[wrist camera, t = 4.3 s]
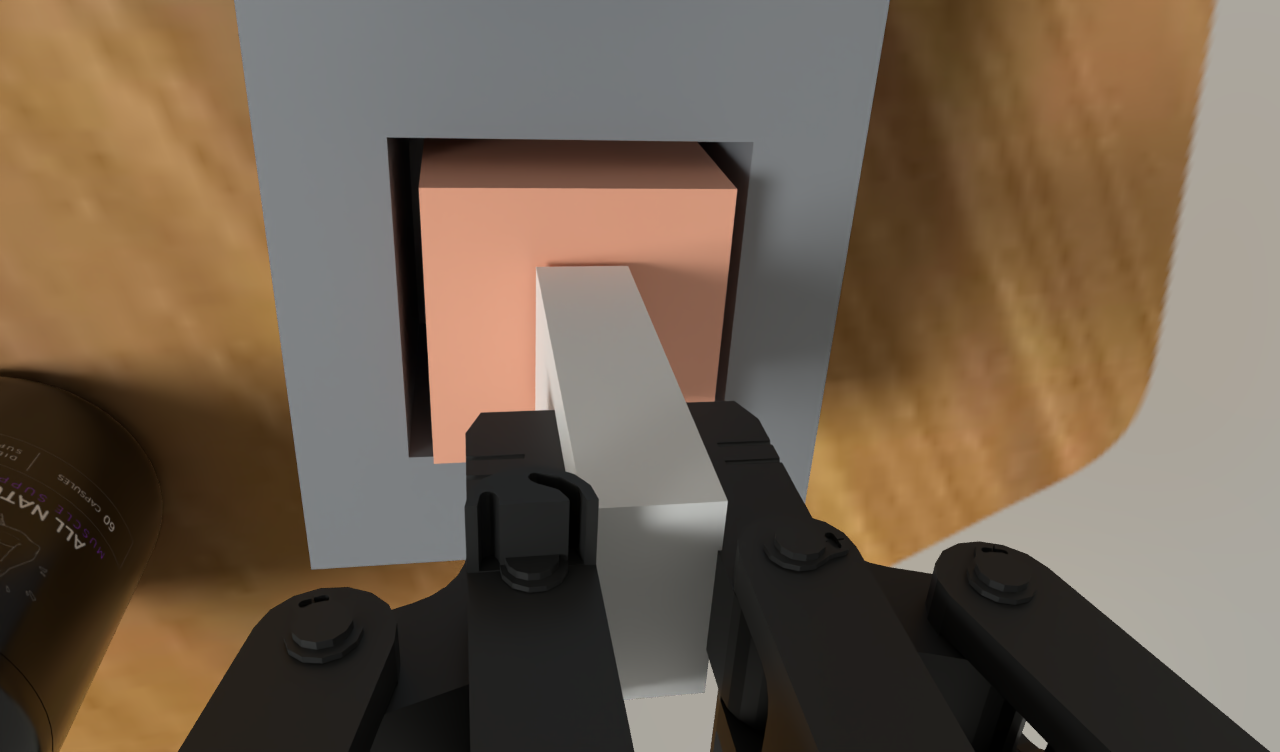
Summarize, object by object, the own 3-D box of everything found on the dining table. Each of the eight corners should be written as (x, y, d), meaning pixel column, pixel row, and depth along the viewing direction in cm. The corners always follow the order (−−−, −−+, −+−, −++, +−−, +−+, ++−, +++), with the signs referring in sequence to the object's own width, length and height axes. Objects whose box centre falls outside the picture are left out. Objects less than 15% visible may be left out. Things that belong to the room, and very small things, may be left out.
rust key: (427, 111, 19) (419, 187, 14) (675, 115, 20) (737, 188, 15) (438, 339, 21) (434, 463, 17) (659, 334, 22) (709, 451, 18)
